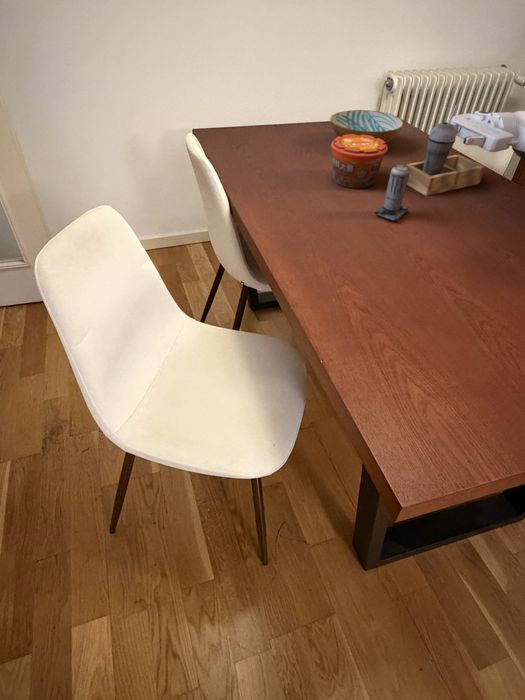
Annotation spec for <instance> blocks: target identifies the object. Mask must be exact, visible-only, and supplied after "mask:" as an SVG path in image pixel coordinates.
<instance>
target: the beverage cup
mask: <svg viewBox="0 0 525 700" xmlns="http://www.w3.org/2000/svg"><path fill="white" fill-rule="evenodd" d="M457 108H458V104H455V106H454V107H453V110H452V112H451V115H450V117H449V118H450V119H449V118H448V120H449V122H448V121H447V122H446V121H443V122H440V123H438V124H436V125H435V126H433V128H432V129H431V130H430V132H429V134H428V137H427V143H426V146H427V147H426V151H425V156H424V160H423V161H424V166H423V172H425V173H427V174H429V175H431V176H434V175H438V174H441V171H442V169H443V166H444V164H445V161H446V159H447V157H448V156H449V155H450V151H451V150H452V148H453V146H454V144H455V142H456V139H457V136H456V130H455V128H454V126H453V125H452V124H450V122H451V120H452V117H453V116H455V113H456V111H457Z"/></svg>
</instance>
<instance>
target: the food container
mask: <svg viewBox="0 0 525 700" xmlns="http://www.w3.org/2000/svg"><path fill="white" fill-rule="evenodd" d="M388 148H389V147H388V145H387V143H386V144H385V142H384V141H383V140H381V139H379V138H377V139H375V138H374V137H373V136H369V135H355V134H348V135H343V136H342V137H340V136H339V137H338V136H337V137H336V138H334V139H333V141H331V143H330V149H331V150H332V176H331V178H332V179H331V180H332V181H333V183H335V184H336V185H338V186H340V187H342V188H343V187H344V188H347V189H353V190H356V189H357V190H360V189H368V188H370V187H372V186H374V185H375V183H376V181H377V178H378V174H379V171H380V169H381V166H382V162H383V159H384V156H385V154H386V153H387V152H388V150H389V149H388Z"/></svg>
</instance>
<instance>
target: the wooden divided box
mask: <svg viewBox="0 0 525 700" xmlns="http://www.w3.org/2000/svg"><path fill="white" fill-rule="evenodd" d="M424 161H425V160H422V161H417V162H411V163H407V164H405V165H404V167H407V168H409V172H410V173H409V177H408V181H407V185H406V186H408V187H410V188H411V189H413V190H415V191H416V192H418V193H420V194H422V195H423V196H425V197H427V196H432V195H435V194H440V193H445V192H448V191H453V190H457V189H462V188H466V187H471V186H475V185H479V184H480V182H481V180H482V179H483V175H484V172H485V170H486V166H485V165H483V164H481V163H478V162H476V161H474V160H472V159H470V158H467V157H465V156H463V155H460V154H453V155H448V157H447V159H446V161H445V164H444V166H443V169H442V171H441V174H438V175H434V176H431V175H429V174H427V173H425V172H423V166H424Z"/></svg>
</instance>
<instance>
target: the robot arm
mask: <svg viewBox="0 0 525 700" xmlns="http://www.w3.org/2000/svg"><path fill="white" fill-rule="evenodd" d="M449 119H450V117H449V118H448V121H447V122H449ZM450 124H452V125H453V126H454V128H455V130H456V137H458V138H460V139H462V140H463V142H462V144H463V145H466V146H475V147H476V146H477V147H479V148H481V149H483V150H484V151H487V152H490V153H497V152H502V151H506V150H508V149H510V147H511V150H512V152H514V153H515V155H516V156H518V158H520V159H523V160H525V110H517V111H514V112H511V111H506V112H490V111H484V110H475V111H474V113H462V114H456V115H453V117H452V120H451V122H450Z"/></svg>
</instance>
